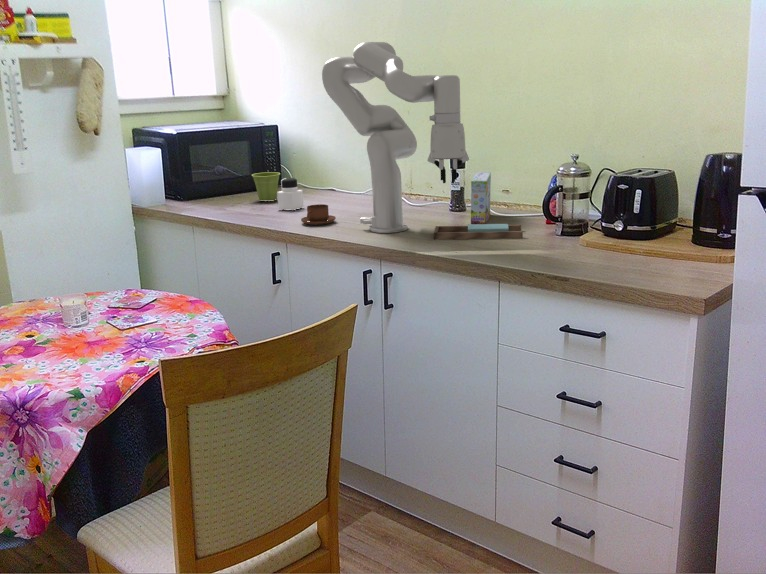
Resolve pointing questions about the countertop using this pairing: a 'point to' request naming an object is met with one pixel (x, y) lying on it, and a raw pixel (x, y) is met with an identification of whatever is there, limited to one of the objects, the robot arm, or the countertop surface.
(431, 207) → the countertop surface
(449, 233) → the walnut box
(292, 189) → the medicine bottle
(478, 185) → the snack box
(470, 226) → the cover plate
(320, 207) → the cup and saucer
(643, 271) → the countertop surface
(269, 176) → the plant pot
